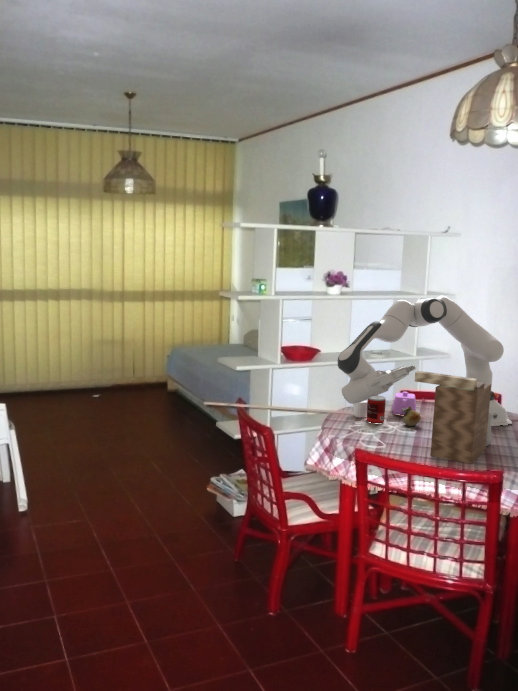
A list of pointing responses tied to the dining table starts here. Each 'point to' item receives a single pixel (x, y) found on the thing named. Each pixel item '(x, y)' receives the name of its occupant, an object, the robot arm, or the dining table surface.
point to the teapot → (403, 402)
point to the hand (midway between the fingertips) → (410, 368)
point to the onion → (411, 417)
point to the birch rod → (446, 380)
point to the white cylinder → (360, 409)
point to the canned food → (376, 409)
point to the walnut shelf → (460, 422)
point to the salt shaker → (489, 431)
